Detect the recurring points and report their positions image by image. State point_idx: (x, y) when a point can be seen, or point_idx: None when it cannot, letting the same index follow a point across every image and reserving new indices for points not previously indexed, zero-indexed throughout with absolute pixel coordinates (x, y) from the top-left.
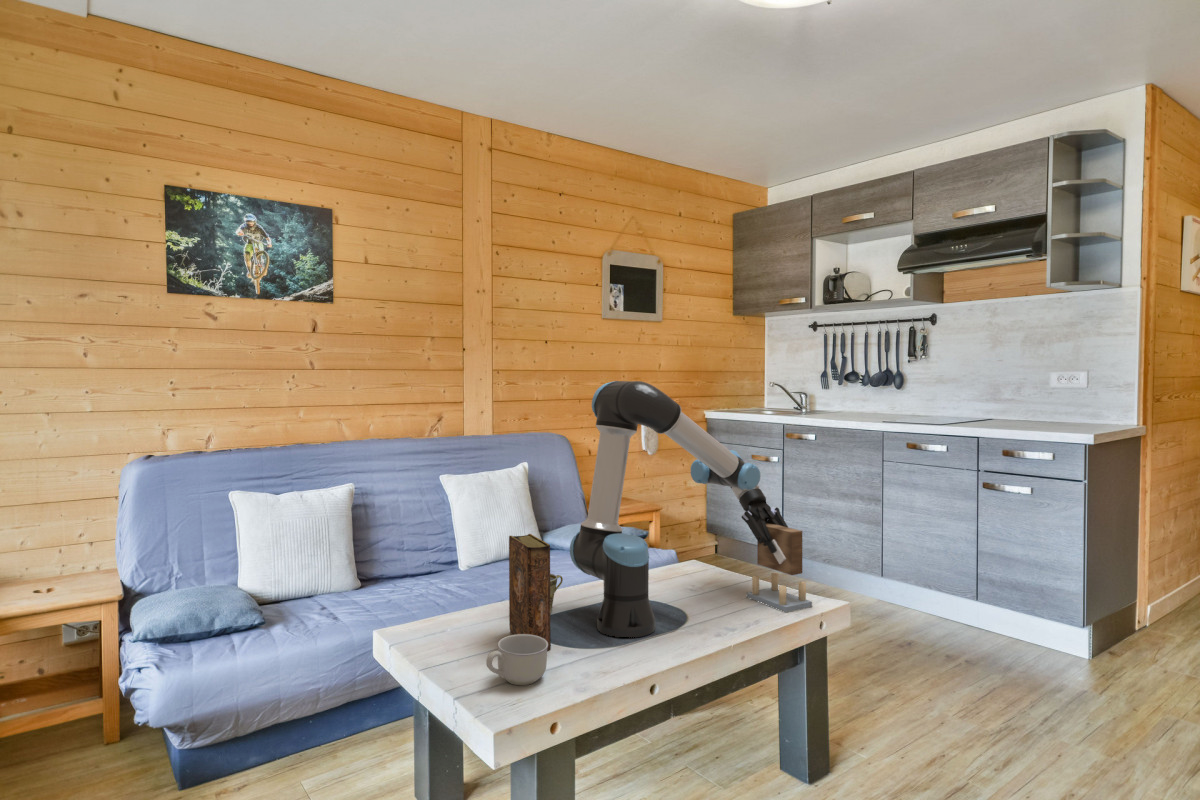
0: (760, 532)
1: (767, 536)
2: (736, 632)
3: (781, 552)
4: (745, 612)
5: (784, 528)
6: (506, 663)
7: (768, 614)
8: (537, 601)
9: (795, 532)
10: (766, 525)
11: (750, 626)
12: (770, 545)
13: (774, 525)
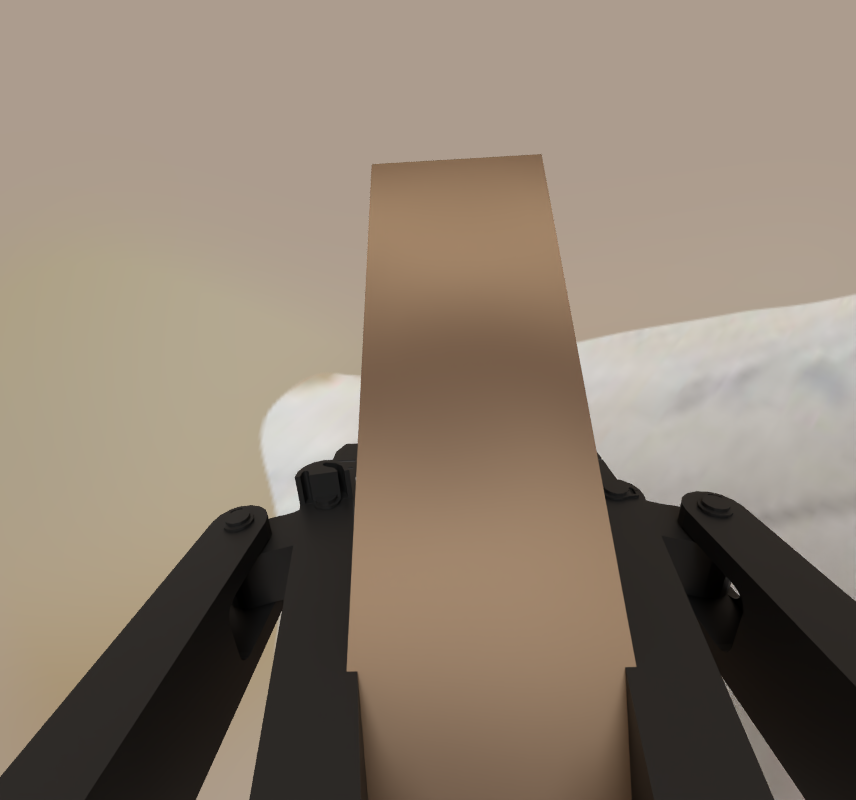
0: (789, 564)
1: (648, 512)
2: (814, 348)
3: None
4: (680, 499)
5: (459, 346)
6: None
7: (602, 437)
8: None
9: (482, 162)
10: (590, 729)
11: (737, 370)
12: (607, 470)
13: (436, 625)
